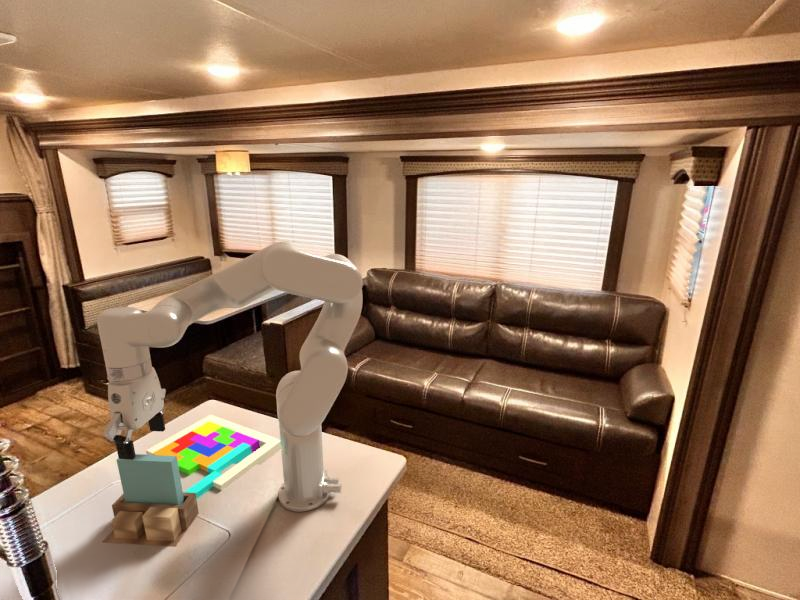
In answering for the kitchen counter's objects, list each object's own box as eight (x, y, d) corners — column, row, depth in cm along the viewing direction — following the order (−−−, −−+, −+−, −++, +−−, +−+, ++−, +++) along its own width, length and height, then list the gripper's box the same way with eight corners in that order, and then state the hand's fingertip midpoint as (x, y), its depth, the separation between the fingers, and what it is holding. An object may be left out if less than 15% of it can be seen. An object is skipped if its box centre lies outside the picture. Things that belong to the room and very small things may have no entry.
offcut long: (181, 531, 90) (177, 508, 88) (174, 541, 87) (170, 517, 86) (154, 529, 90) (150, 506, 89) (146, 539, 88) (142, 516, 86)
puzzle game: (211, 422, 134) (113, 479, 108) (210, 414, 133) (111, 469, 107) (282, 449, 120) (189, 521, 94) (282, 440, 119) (187, 510, 94)
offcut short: (145, 529, 90) (142, 512, 89) (137, 539, 88) (134, 521, 87) (123, 528, 91) (120, 511, 89) (115, 537, 88) (111, 520, 87)
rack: (199, 516, 95) (195, 492, 93) (176, 550, 86) (171, 524, 85) (132, 513, 96) (127, 489, 94) (102, 545, 87) (96, 520, 86)
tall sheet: (186, 517, 94) (176, 455, 89) (181, 524, 92) (171, 461, 87) (135, 514, 94) (123, 453, 90) (129, 521, 92) (116, 459, 88)
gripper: (116, 390, 75) (132, 471, 79) (173, 352, 91) (183, 422, 96) (76, 388, 75) (94, 470, 80) (140, 351, 92) (152, 420, 96)
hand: (143, 443), depth 88 cm, fingers open, 9 cm apart
